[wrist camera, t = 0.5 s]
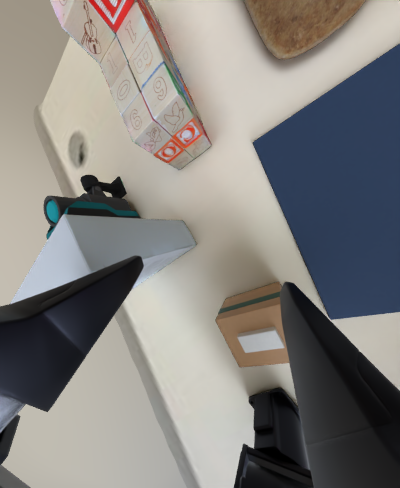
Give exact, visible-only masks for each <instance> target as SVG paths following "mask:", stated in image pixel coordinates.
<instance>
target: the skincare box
mask: <svg viewBox="0 0 400 488" xmlns="http://www.w3.org/2000/svg"><path fill="white" fill-rule="evenodd" d="M196 245H197V244H196V242H195V240H194V238H193V237H192V235H191V233H190V231H189V230H188V228H187V226H186V225H185V223H184V222H183V221H181V220H158V219H139V218H119V217H100V216H81V215H66V214H63V215H62V217H61V218H60V220H59V222H58V224H57V226H56V227H55V229H54V231H53V232H52V234H51V236H50V237H49V239H48V241H47V242H46V244H45V246H44V247H43V249H42V251H41V252H40V254H39V256H38V257H37V259H36V261H35V262H34V264H33V266H32V267H31V269H30V271H29V273H28V274H27V276H26V278H25V279H24V281H23V283H22V285H21V286H20V288H19V290H18V291H17V293H16V295H15V296H14V298H13V300H12V301H11V303H10V304H12V303H15V302H18V301H21V300H23V299H26V298H29V297H32V296H34V295H37V294H40V293H43V292H45V291H48V290H51V289H53V288H56V287H59V286H61V285H64V284H66V283H69V282H71V281H73V280H76V279H78V278H81V277H83V276H86V275H88V274H91V273H93V272H95V271H98V270H100V269H103V268H105V267H108V266H110V265H112V264H115V263H117V262H120V261H122V260H125V259H127V258H129V257H132V256H134V255H137V256H141V257H142V260H143V264H144V268H143V270H142V272H141V274H140V276H139V277H138V279H137V281H136V283H135V285H134V286H133V288H134V287H136V286H137V285H139V284H140V283H142V282H143V281H144V280H146V279H147V278H149V277H150V276H152V275H153V274H155V273H156V272H158V271H159V270H161V269H162V268H164V267H165V266H167V265H168V264H170V263H171V262H173V261H174V260H176V259H177V258H179V257H180V256H181V255H183V254H184V253H186V252H187V251H189V250H190V249H192V248H193V247H195V246H196ZM133 288H132V289H133Z"/></svg>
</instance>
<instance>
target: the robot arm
mask: <svg viewBox="0 0 400 488" xmlns="http://www.w3.org/2000/svg"><path fill="white" fill-rule="evenodd" d="M143 268H144V264H143V260H142V257H141V256H137V255H134V256H132V257H129V258H127V259H125V260H122V261H120V262H117V263H115V264H112V265H110V266H108V267H105V268H103V269H100V270H98V271H95V272H93V273H91V274H88V275H86V276H83V277H81V278H78V279H76V280H73V281H71V282H69V283H66V284H64V285H61V286H59V287H56V288H53V289H51V290H48V291H45V292H43V293H40V294H37V295H34V296H32V297H29V298H26V299H23V300H21V301H18V302H15V303H12V304H9V305H5V306H1V307H0V488H30V487H29V486H27V485H26V484H25V483H24V482H22V481H21V480H20V479H19V478H17V477H16V476H15V475H13V474H12V473H11V472H9V471H8V470H7V469H6V468H4V467H3V466H2V465H1V464H2V463H3V461H4V460H5V459H6V458H7V456H8V454H9V451H10V447H11V444H12V441H13V438H14V435H15V432H16V428H17V426H18V422H19V419H20V416H19V415H18V412H19V411H20V410H21V409H22V408H23V407H24V406H25V404H28V405H30V406H33V407H36V408H38V409H41V410H43V411H46V412H48V411H49V410H50V408H51V407H52V406H53V404H54V403H55V401H56V400H57V398H58V397H59V395H60V394H61V392H62V391H63V390H64V388H65V387H66V385H67V384H68V382H69V381H70V379H71V378H72V376H73V375H74V373H75V372H76V370H77V369H78V368H79V366H80V365H81V363H82V362H83V360H84V359H85V357H86V355H87V354H88V353H89V351H90V350H91V348H92V347H93V345H94V344H95V342H96V341H97V339H98V338H99V337H100V335H101V334H102V332H103V331H104V329H105V328H106V326H107V325H108V323H109V322H110V320H111V319H112V317H113V316H114V315H115V313H116V312H117V310H118V309H119V307H120V306H121V304H122V303H123V301H124V300H125V298H126V297H127V295H128V294H129V293H130V291H131V290H132V288H133V286H134V285H135V283H136V281H137V279H138V277H139V276H140V274H141V272H142V270H143ZM280 306H281V319H282V327H283V332H284V337H285V342H286V347H287V352H288V357H289V362H290V368H291V373H292V378H293V383H294V388H295V393H296V398H297V403H298V407H297V406H296V405H295V404H294V402H293V401H292V400H291V399H290V398H289V396H288V395H287V394H286V393H285V391H284V390H283V389H281V388H277V389H274V390H271V391H267V392H264V393H261V394H258V395H254V396H251V397H249V403H250V404H251V406H252V407H253V408H254V431H255V442H254V449H253V448H251V447H248V445H246V444H243V448H242V452H241V454H240V459H239V464H238V469H237V475H236V480H235V485H234V488H400V390H398V389H397V388H396V387H395V386H394V385H393V384H392V383H391V382H390V381H389V380H388V379H387V378H386V377H385V376H384V375H383V374H382V373H381V372H380V371H379V370H378V369H377V368H376V367H375V366H374V365H373V364H372V363H371V362H370V361H369V360H368V359H367V358H366V357H365V356H364V355H363V354H362V353H361V352H359V350H358V349H357V348H356V347H355V346H354V345H353V344H352V343H351V342H350V341H349V340H348V339H347V337H346V336H345V335H344V334H343V333H342V332H341V331H340V330H339V329H338V328H337V327H336V326H335V325H334V324H333V323H332V322H331V321H330V320H329V319H328V318H327V317H326V316H325V315H324V314H323V313H322V312H321V311H320V310H319V309H318V308H317V307H316V306H315V305H314V304H313V303H312V302H311V301H310V299H309V298H308V297H307V296H306V295H305V294H304V293H303V292H302V291H301V290H300V289H299V288H298V287H297V286H296V285H295V284H294V283H291V282H284V284H283V286H282V289H281V291H280ZM280 392H281V393H280Z"/></svg>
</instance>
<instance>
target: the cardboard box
mask: <svg viewBox="0 0 400 488" xmlns="http://www.w3.org/2000/svg"><path fill="white" fill-rule="evenodd" d="M281 289H282V286H281V284H280V282H276V283H273V284H270V285H266V286H263V287H260V288H257V289H254V290H251V291H248V292H245V293H242V294H239V295H236V296H233V297H230V298H226V299H225V301H224V303H223V306H222V308H221V309H220V311H219V313H218V316H217V318H216V323H217V325H218V327H219V329H220V330H221V332H222V334H223V336H224V338H225V340H226V342H227V344H228V346H229V348H230V350H231V352H232V354H233V356H234V358H235V360H236V362H237V363H238V365H239V367H249V366H260V365H271V364H283V363H290V362H289V357H288V352H287V347H286V342H285V337H284V332H283V327H282V319H281V306H280V291H281Z"/></svg>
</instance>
